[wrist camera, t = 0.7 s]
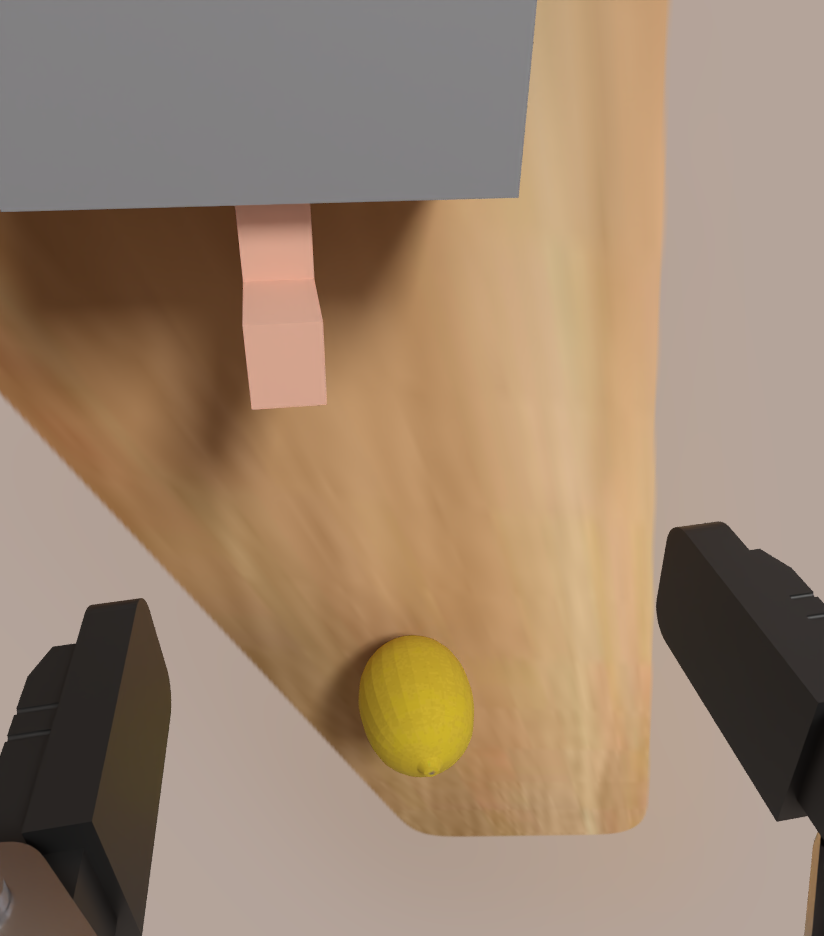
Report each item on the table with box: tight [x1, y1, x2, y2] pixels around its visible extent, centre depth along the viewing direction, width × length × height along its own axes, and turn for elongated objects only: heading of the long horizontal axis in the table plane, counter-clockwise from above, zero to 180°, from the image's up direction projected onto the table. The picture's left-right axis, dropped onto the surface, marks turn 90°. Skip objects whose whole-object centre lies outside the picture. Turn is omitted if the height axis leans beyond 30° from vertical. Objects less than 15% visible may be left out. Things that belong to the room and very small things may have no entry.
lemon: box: [359, 635, 474, 777], centre depth 38 cm, size 6×6×8 cm
